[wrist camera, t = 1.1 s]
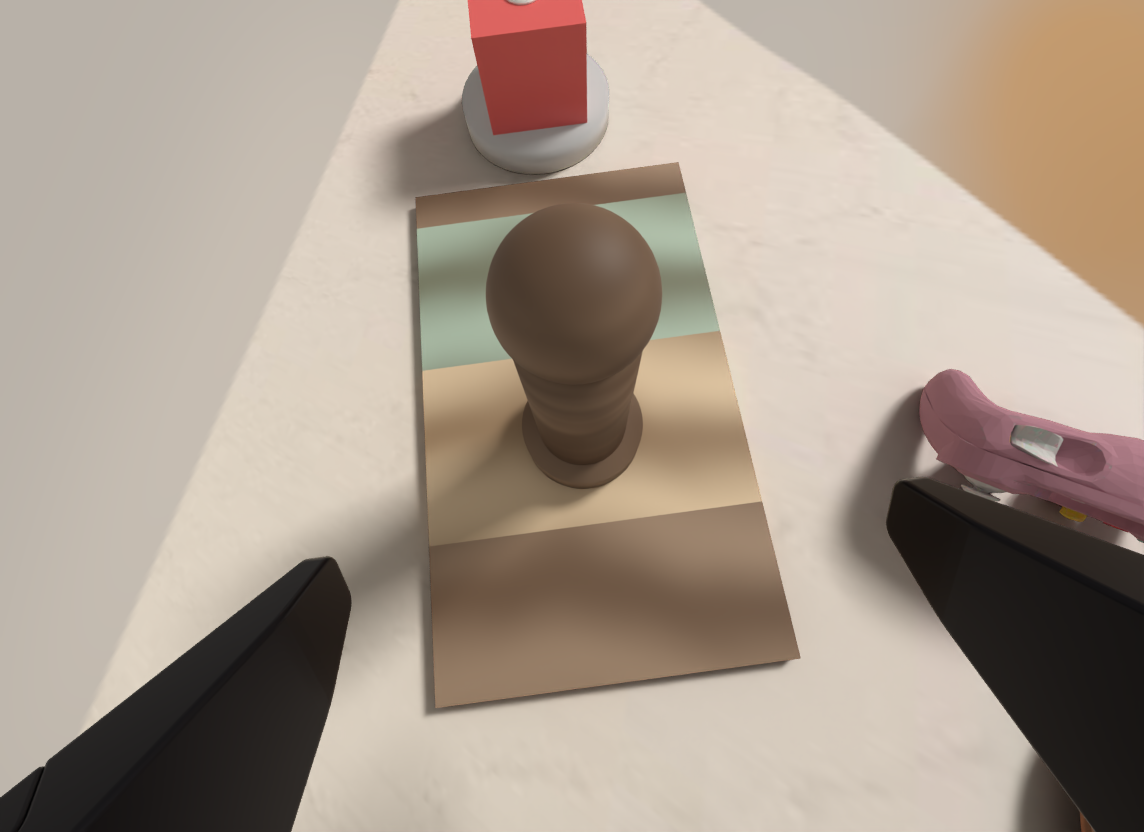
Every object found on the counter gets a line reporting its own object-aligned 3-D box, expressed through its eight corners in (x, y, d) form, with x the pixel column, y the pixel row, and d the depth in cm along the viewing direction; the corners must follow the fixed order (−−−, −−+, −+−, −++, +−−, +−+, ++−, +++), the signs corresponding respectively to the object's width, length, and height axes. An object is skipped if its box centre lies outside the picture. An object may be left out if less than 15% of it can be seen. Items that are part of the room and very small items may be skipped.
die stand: (618, 163, 27) (626, 40, 21) (473, 183, 27) (437, 65, 21) (597, 57, 30) (598, -81, 24) (464, 75, 30) (430, -58, 24)
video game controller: (878, 454, 24) (958, 495, 17) (923, 362, 23) (1027, 367, 16) (1106, 539, 22) (1296, 622, 15) (1164, 444, 21) (1392, 487, 14)
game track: (794, 655, 20) (800, 658, 19) (439, 704, 20) (435, 708, 19) (676, 171, 27) (678, 162, 27) (419, 205, 27) (415, 197, 26)
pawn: (630, 498, 21) (685, 381, 9) (515, 477, 22) (409, 338, 9) (647, 389, 23) (714, 154, 10) (539, 372, 23) (475, 127, 11)
